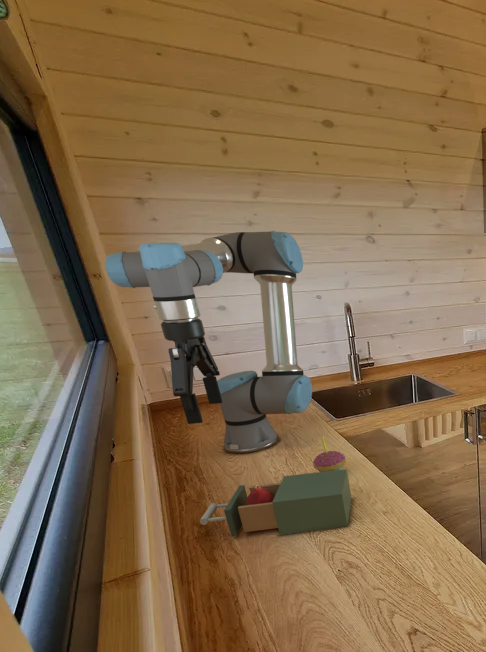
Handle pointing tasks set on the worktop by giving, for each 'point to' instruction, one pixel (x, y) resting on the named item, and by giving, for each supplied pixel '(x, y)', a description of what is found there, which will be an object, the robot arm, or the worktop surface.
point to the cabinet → (312, 502)
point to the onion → (259, 496)
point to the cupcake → (329, 460)
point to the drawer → (245, 512)
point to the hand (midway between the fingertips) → (206, 412)
